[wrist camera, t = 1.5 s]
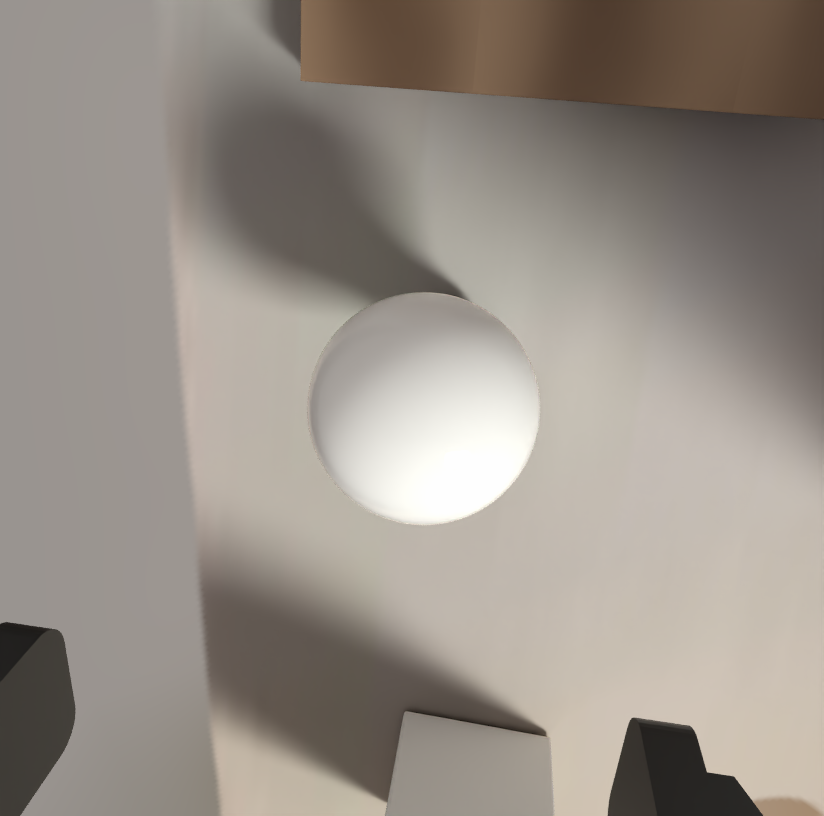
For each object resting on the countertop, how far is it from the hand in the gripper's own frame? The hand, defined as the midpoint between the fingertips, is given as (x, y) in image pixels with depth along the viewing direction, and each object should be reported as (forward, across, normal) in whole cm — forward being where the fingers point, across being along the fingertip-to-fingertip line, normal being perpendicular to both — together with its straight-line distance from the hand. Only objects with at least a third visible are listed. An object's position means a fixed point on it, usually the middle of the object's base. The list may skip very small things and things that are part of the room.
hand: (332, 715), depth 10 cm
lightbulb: (+19, 0, 0) cm, 19 cm away
